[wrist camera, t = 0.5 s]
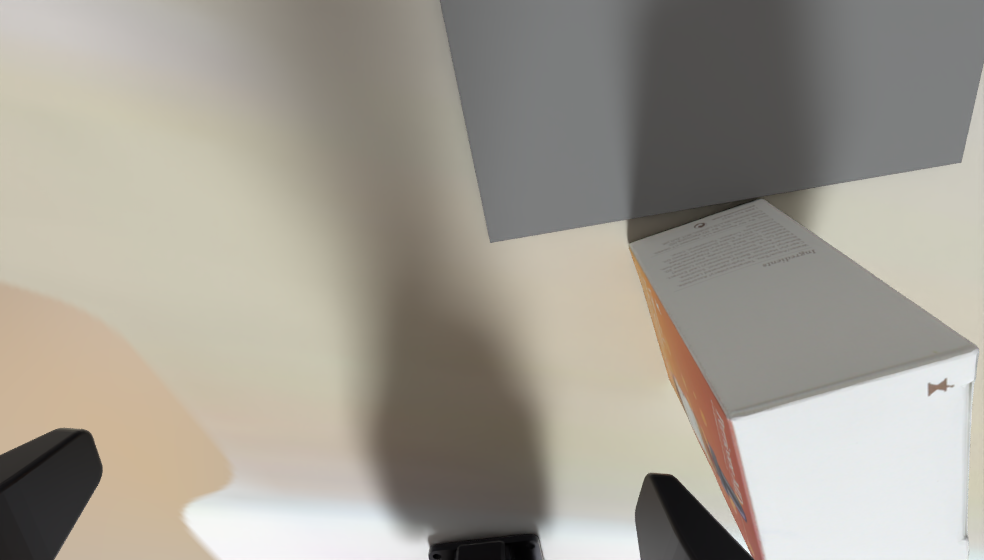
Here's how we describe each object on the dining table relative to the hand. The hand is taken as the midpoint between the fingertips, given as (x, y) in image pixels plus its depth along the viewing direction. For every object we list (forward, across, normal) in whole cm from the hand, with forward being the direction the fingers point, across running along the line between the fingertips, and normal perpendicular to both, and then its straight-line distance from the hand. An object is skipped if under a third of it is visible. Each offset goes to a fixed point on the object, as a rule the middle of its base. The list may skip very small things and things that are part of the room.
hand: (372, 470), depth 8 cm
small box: (+14, -12, +3) cm, 19 cm away
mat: (+14, -9, -7) cm, 18 cm away
